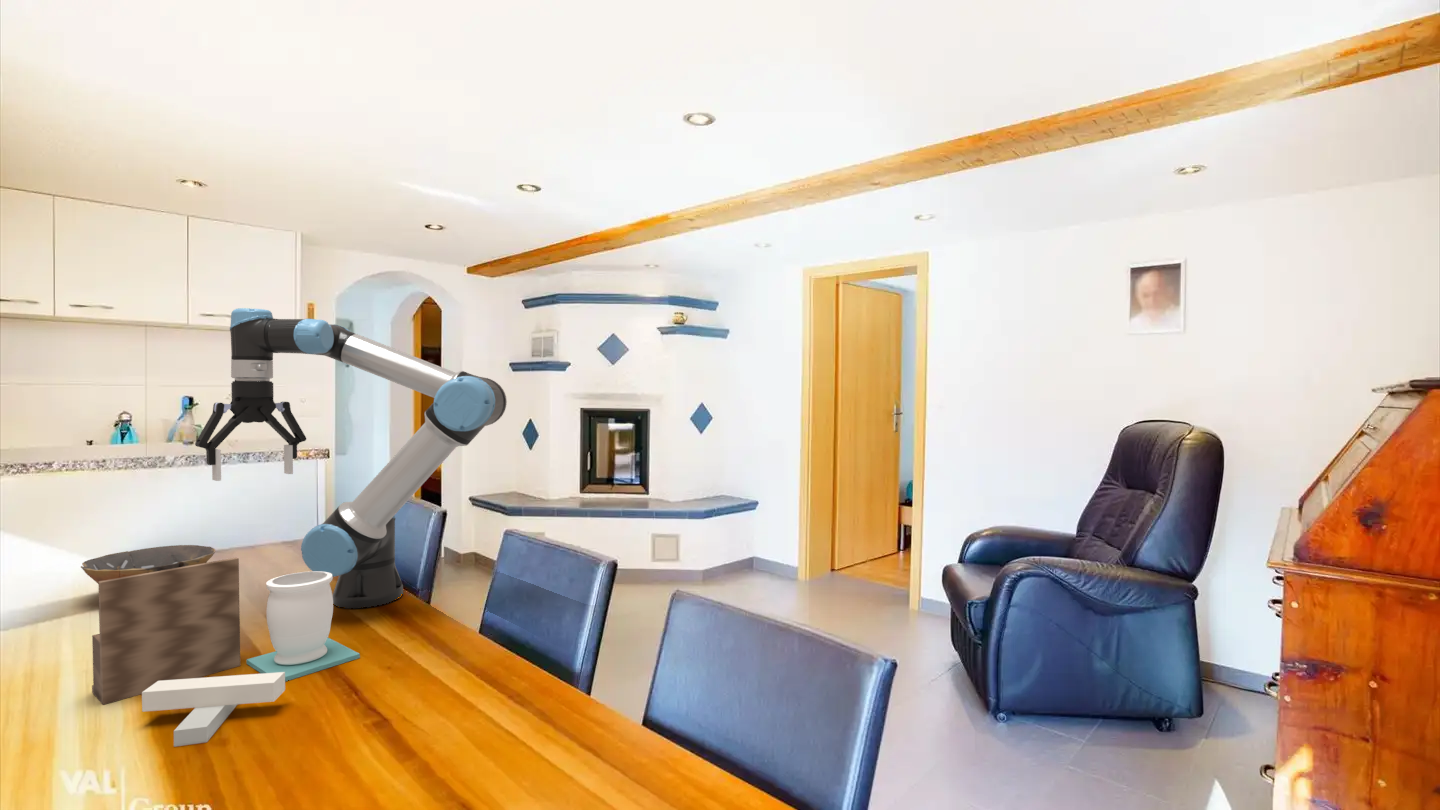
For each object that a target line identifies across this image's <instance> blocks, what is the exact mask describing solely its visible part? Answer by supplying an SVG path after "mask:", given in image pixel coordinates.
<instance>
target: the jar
mask: <svg viewBox="0 0 1440 810" xmlns="http://www.w3.org/2000/svg"><path fill="white" fill-rule="evenodd" d="M333 578H334V577H333V576H332V574H331V573H329V572H322V571H312V570H310V571H302V572H301V571H300V572H294V573H288V574H284V575H280V576H277V577H273V578H270V579H269V580H268V581H267V580H266V582H265V584H266V585H265V586H266V589H267V590H268V591H269V594H268V597H267V603H266V612H265V613H266V624H267V628H268V631H269V632H268V633H269V639H270V641H271V644H272V647H273V649H274V650H275V651H277V654H276V655H275V657H274V661H275V663H277V664H281V665H296V664H302V663H307V662H310V661H313V660H316V659H319V658H321V657H322V656H324V655H325V654H326V653H327V647H326V646H325V645H324V643H325V642H326V640H327V638H329V635H330V632H331V626H332V621H333V620H332V618H333V615H334V614H333V613H334V605H333V591H332V587H331V584H330V583H331V582H332V581H333Z"/></svg>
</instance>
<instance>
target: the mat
mask: <svg viewBox="0 0 1440 810" xmlns="http://www.w3.org/2000/svg"><path fill="white" fill-rule="evenodd" d="M324 645H325V646H326V647H327V653H326V654H325V655H324V656H322V657H321V658H319V659H316V660H313V661H310V662H307V663H302V664H296V665H281V664H277V663H275V661H274V657H275V655H276V654H277V651H276V650H275V651H272V652H268V653H265V654H262V655H258V656H254V657H251V658H246V665H248V666H249V667H251V668H252V669H253V670H255V671H256V672H258V673H259V674H262V673H277V672H285V682H288V680H289V681H292V680H294V679H298V678H301V677H304V676H308V675H310V674H313V673H314V674H315V673H317V672H319V671H323V670H327V669H329V668H332V667H336V666H339V665H341V664H344V663H349V662H350V661H353V660H354V661H355V660H357V659H360V658H361V654H360V653H359V652H357V651H355V650H353V649H351V648H350V647H347V646H345V645H344V644H342V643H340V642H338V641H336V640H334V639H331V638H330V637H328V638H327V640H326V642H325V643H324Z"/></svg>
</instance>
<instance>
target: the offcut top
mask: <svg viewBox="0 0 1440 810" xmlns="http://www.w3.org/2000/svg"><path fill="white" fill-rule="evenodd" d="M285 691H286V681H285V672H277V673H262V674H261V673H250V674H248V673H247V674H236V675H235V674H234V675H222V676H209V677H207V676H206V677H205V676H204V677H199V678H191V679H176V680H162V681H157V682H156V683H154V684H153V685H152V686H150V687H149V688H147V689H146V690H144V691H143V692H142V694H141V712H157V711H168V710H179V709H180V710H181V709H195V708H196V707H209V706H222V705H235V704H238V705H245V704H247V705H248V704H259V703H271V702H275V701H276V700H277V699H278V698H279V697H280V696H281V695H282V694H283V693H284V692H285Z"/></svg>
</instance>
